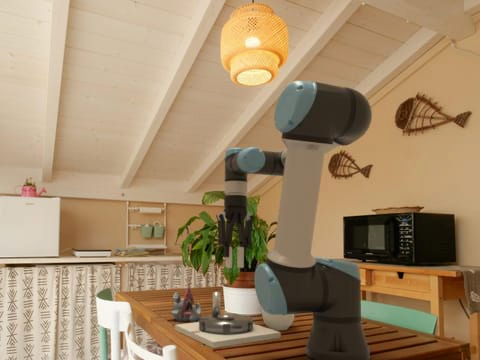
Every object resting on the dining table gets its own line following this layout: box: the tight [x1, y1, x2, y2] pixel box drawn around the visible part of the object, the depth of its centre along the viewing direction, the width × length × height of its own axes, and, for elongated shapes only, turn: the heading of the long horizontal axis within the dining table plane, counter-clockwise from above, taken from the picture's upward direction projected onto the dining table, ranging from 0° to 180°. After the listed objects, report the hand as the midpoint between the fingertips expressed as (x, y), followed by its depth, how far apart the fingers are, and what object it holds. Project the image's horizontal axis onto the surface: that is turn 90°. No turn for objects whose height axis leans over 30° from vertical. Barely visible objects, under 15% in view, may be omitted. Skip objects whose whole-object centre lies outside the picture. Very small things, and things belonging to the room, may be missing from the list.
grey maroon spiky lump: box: [169, 286, 203, 323], centre depth 142 cm, size 11×11×12 cm
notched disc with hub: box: [198, 291, 254, 334], centre depth 123 cm, size 16×17×9 cm
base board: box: [174, 321, 282, 349], centre depth 122 cm, size 24×22×2 cm
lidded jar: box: [261, 307, 296, 332], centre depth 130 cm, size 11×11×9 cm
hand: (234, 267), depth 133 cm, fingers open, 4 cm apart
